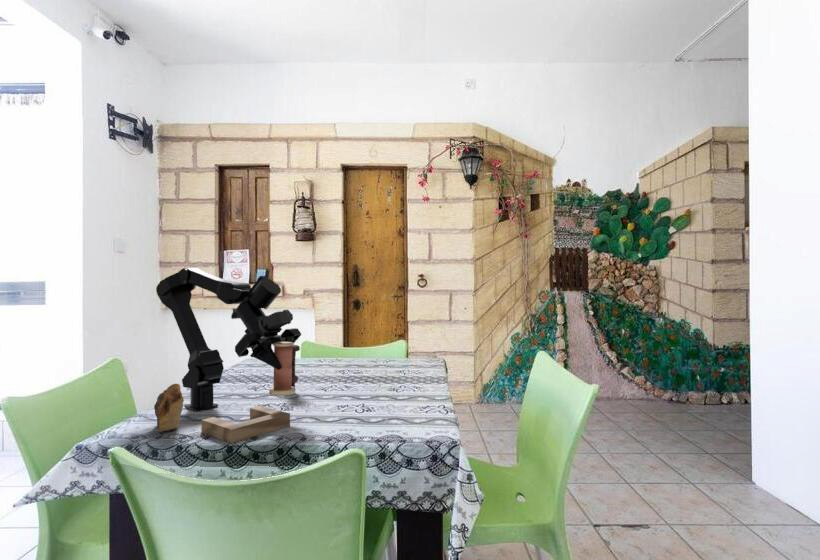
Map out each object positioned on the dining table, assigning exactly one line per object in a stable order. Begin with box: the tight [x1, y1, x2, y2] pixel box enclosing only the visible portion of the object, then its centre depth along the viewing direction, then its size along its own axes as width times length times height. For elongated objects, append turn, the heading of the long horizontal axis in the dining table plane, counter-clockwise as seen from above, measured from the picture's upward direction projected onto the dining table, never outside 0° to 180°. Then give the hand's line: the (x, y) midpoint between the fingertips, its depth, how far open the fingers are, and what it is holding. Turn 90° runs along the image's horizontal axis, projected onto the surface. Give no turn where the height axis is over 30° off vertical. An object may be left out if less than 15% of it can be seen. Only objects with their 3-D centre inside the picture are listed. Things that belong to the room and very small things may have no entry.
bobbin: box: [268, 342, 296, 397], centre depth 120 cm, size 6×6×12 cm
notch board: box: [201, 405, 291, 444], centre depth 114 cm, size 12×16×3 cm
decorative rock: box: [153, 383, 185, 432], centre depth 114 cm, size 12×6×11 cm, turn 30°
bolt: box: [292, 344, 301, 388], centre depth 150 cm, size 6×5×15 cm
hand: (287, 367), depth 119 cm, fingers closed on bobbin, 4 cm apart
